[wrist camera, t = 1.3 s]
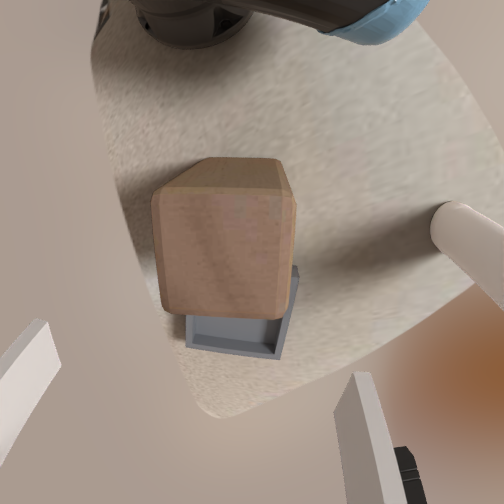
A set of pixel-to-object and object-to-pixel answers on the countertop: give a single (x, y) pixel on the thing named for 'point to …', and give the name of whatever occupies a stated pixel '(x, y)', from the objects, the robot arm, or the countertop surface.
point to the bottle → (472, 245)
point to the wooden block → (225, 239)
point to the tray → (242, 332)
